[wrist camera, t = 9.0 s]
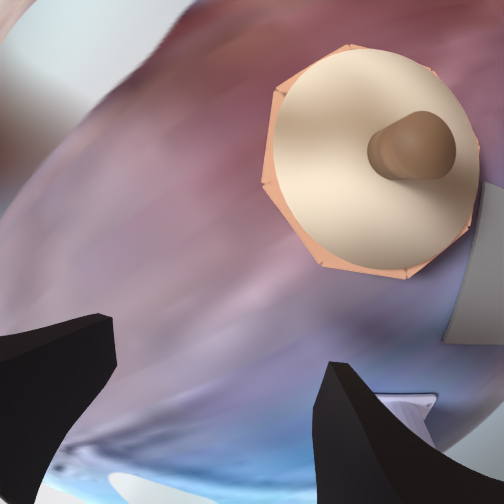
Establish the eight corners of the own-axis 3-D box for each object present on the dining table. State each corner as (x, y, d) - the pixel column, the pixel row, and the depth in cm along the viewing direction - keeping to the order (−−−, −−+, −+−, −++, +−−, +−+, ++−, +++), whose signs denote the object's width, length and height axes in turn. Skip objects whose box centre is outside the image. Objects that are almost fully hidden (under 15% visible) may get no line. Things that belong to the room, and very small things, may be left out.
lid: (461, 271, 13) (509, 301, 9) (267, 258, 14) (258, 292, 10) (468, 81, 11) (514, 58, 6) (277, 43, 12) (271, -8, 7)
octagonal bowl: (431, 273, 17) (456, 290, 13) (254, 244, 18) (246, 258, 14) (454, 100, 14) (481, 88, 10) (280, 55, 15) (278, 29, 11)
